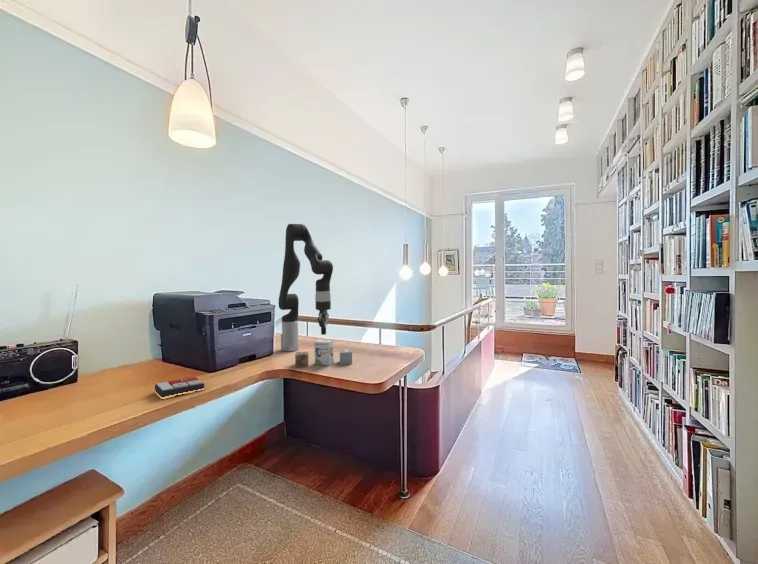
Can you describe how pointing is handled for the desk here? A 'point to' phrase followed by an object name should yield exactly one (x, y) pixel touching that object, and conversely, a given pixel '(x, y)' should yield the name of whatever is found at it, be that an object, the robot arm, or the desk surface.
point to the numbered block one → (301, 359)
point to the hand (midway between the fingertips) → (323, 334)
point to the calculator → (178, 386)
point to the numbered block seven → (345, 357)
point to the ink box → (324, 352)
